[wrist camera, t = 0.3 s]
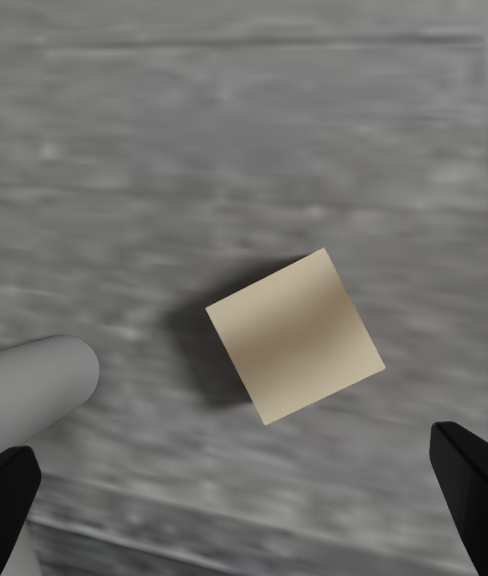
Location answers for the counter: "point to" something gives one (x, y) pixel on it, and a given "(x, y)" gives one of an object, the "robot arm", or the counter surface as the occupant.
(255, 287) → the maple block
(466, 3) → the counter surface
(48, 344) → the beverage can
